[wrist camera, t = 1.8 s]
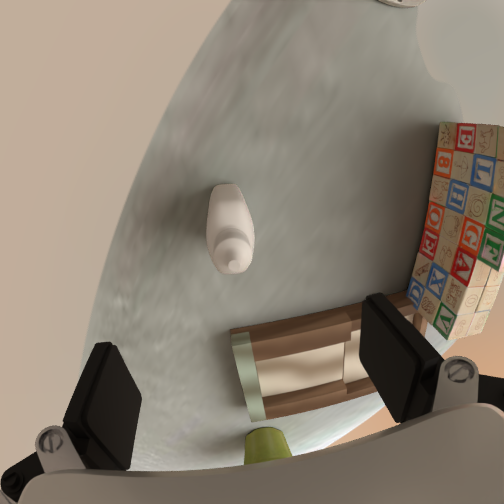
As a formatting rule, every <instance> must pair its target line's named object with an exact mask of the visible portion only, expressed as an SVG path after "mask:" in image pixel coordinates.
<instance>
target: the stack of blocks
mask: <svg viewBox="0 0 504 504" xmlns="http://www.w3.org/2000/svg"><path fill="white" fill-rule="evenodd" d="M503 276H504V127H501V126H498V125H486V124H471V123H454V122H440V125H439V136H438V147H437V150H436V158H435V165H434V174H433V178H432V184H431V190H430V196H429V205H428V212H427V216H426V221H425V228H424V232H423V236H422V240H421V244H420V248H419V252H418V254H417V258H416V262H415V266H414V269H413V273H412V277H411V280H410V283H409V287H408V290H407V294H406V297H408V298H409V299H410V300H411V301H412V302H413V303H414V305H413V307H414V308H415V309H416V310H417V311H418V312H419V313H420V314H421V315H422V316H423V317H424V318H425V319H426V320H427V321H428V322H429V323H430V324H431V325H433V327H434V328H435V329H436V330H437V331H438V332H439V333H440V334H441V335H442V336H443V337H444V338H445V339H446V340H452V339H457V338H462V337H465V336H470V335H473V334H478V333H481V331H482V329H483V326H484V324H485V322H486V320H487V317H488V315H489V312H490V310H491V308H492V306H493V303H494V301H495V298H496V295H497V293H498V290H499V287H500V284H501V282H502V279H503Z"/></svg>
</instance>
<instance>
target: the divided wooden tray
mask: <svg viewBox="0 0 504 504" xmlns="http://www.w3.org/2000/svg"><path fill="white" fill-rule="evenodd" d="M406 294H407V290H406V291H402V292H399V293H395V294H391V295H388V296H385V297H386V298H387V299H388V300H389V301H390V302H391V303H392V304H393V305H394V306H395V307H396V308H397V309H398V310H399V311H400V312H401V314H402V315H403V316H404V317H405V318H406V319H407V320H408V321H410V322H411V323H412V324H413V325H414V326H415V328H416V329H417V330H418V331H419V332H420V333H421V334H422V335H423V336H424V337H425V332H426V327H427V322H428V321H427V320H426V319H425V318H424V317H423V316H422V315H421V314H420V313H419V312H418V311H417V310H416V309H415V308H414V307H413V305H414V303H413V302H412V301H411V300H410V299H409V298H408V297H406ZM361 312H362V302H360V303H356V304H352V305H348V306H344V307H340V308H335V309H331V310H327V311H322V312H318V313H313V314H308V315H304V316H299V317H294V318H289V319H284V320H279V321H274V322H269V323H264V324H258V325H253V326H247V327H242V328H236V329H230V332H231V343H232V349H233V353H234V357H235V361H236V365H237V369H238V373H239V377H240V381H241V385H242V389H243V393H244V396H245V400H246V404H247V408H248V411H249V415H250V419H251V422H257V421H263V420H268V419H273V418H279V417H284V416H288V415H293V414H298V413H302V412H306V411H311V410H315V409H319V408H323V407H327V406H330V405H334V404H338V403H341V402H345V401H348V400H351V399H355V398H358V397H361V396H364V395H368V394H371V393H374V392H377V389H376V388H375V386H374V384H373V383H372V381H371V379H370V377H369V376H368V374H367V372H366V371H365V369H364V367H363V366H362V364H361V362H360V359H359V344H360V330H361Z"/></svg>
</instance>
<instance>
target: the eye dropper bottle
mask: <svg viewBox="0 0 504 504" xmlns="http://www.w3.org/2000/svg"><path fill="white" fill-rule="evenodd" d="M206 239H207V246H208V251H209V254H210V257H211V259H212V261H213V263H214V265H215V267H216V268H217V270H218V271H219V272H221V273H223V274H235V273H241V272H244V271H245V270H246V269H247V267H248V266H249V265H250V262H252V261H251V260H252V256H253V250H254V242H255V236H254V227H253V222H252V219H251V216H250V213H249V210H248V207H247V205H246V202H245V200H244V198H243V195H242V193H241V191H240V189H239V187H238V186H237V185H235V184H221V185H217V186H215V187H214V188H213V191H212V193H211V197H210V201H209V208H208V217H207V228H206Z"/></svg>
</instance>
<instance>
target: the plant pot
mask: <svg viewBox="0 0 504 504" xmlns="http://www.w3.org/2000/svg"><path fill="white" fill-rule="evenodd" d="M287 457H292V454H291V452H290V449H289V447H288V444H287V442H286V439H285V437H284V434H283V432H282V431H279V430H277V429H275V428H271V427H266V428H259V429H256V430H254V431H253V432H252V433H250V434H248V435H247V436H246V438H245V456H244V465H248V464H254V463H261V462H266V461H272V460H277V459H282V458H287Z"/></svg>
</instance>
